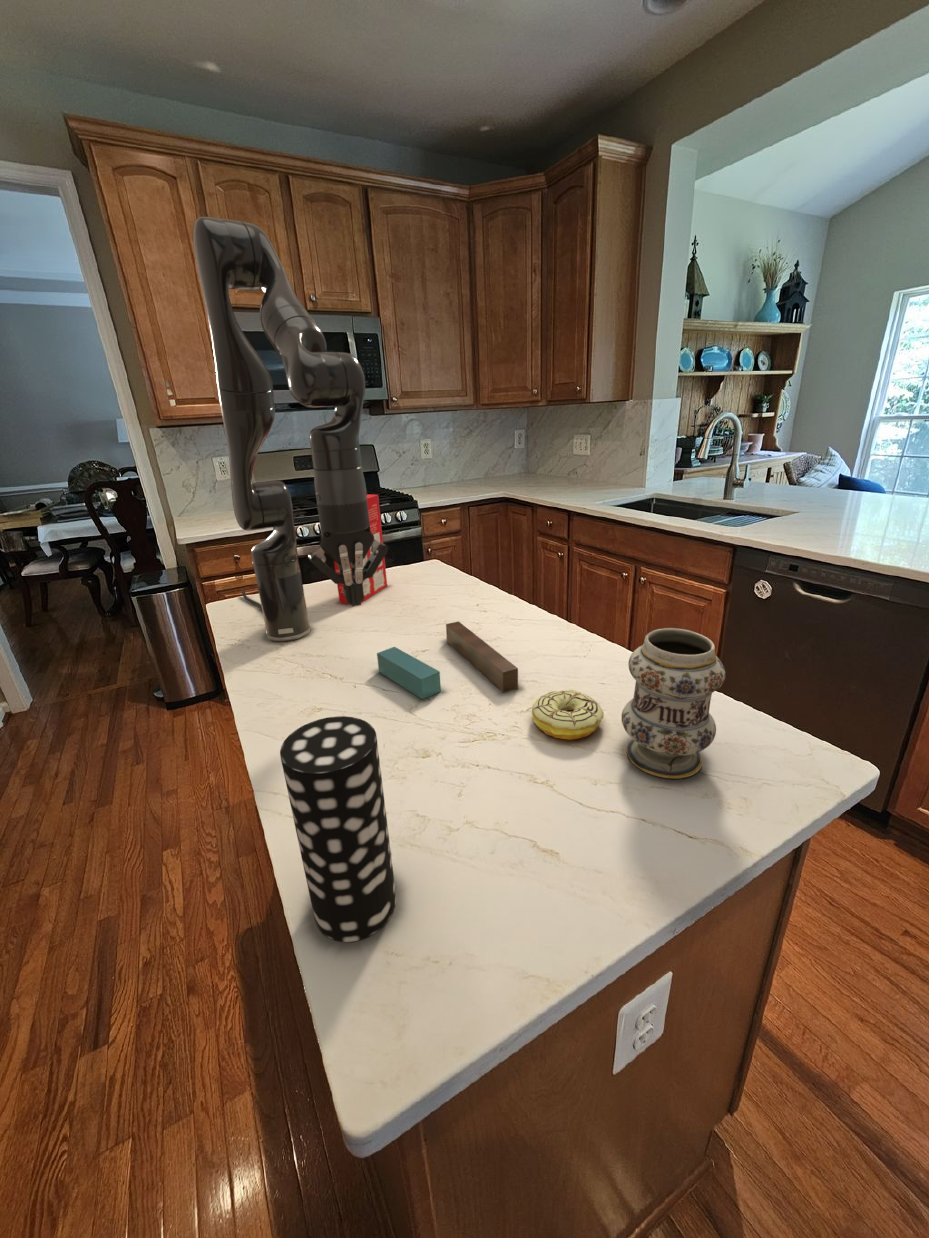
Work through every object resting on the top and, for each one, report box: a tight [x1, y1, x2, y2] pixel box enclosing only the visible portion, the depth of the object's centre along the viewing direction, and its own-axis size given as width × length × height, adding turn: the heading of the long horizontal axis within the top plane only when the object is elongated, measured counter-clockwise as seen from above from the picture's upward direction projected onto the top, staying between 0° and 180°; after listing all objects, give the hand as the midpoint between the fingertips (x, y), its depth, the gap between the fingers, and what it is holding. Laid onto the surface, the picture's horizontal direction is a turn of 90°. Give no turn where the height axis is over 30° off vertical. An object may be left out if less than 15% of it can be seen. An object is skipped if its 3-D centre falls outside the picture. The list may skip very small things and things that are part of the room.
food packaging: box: [333, 493, 388, 605], centre depth 136 cm, size 15×5×25 cm, turn 157°
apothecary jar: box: [621, 627, 726, 780], centre depth 71 cm, size 12×12×18 cm
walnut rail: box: [445, 621, 519, 693], centre depth 102 cm, size 24×3×4 cm, turn 26°
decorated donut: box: [531, 689, 605, 741], centre depth 82 cm, size 10×11×4 cm
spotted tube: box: [279, 715, 397, 943], centre depth 51 cm, size 8×8×20 cm
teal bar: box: [376, 646, 442, 700], centre depth 96 cm, size 14×4×4 cm, turn 41°
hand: (355, 604), depth 87 cm, fingers closed
